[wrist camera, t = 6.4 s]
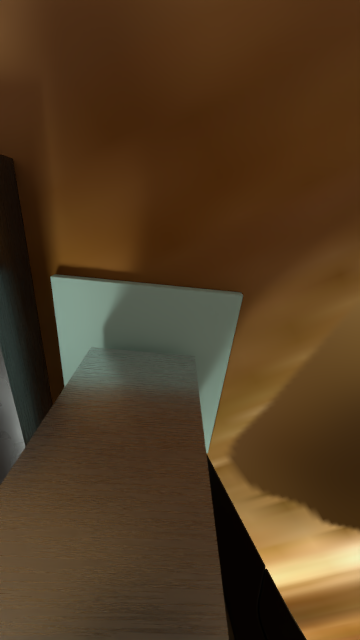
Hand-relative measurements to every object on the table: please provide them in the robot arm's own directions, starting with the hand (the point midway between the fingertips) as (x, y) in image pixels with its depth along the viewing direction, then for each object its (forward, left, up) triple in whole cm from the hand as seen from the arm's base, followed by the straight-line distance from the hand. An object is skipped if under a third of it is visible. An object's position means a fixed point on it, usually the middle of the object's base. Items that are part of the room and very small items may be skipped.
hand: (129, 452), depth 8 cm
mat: (0, 0, -4) cm, 4 cm away
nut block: (0, 0, -3) cm, 3 cm away
